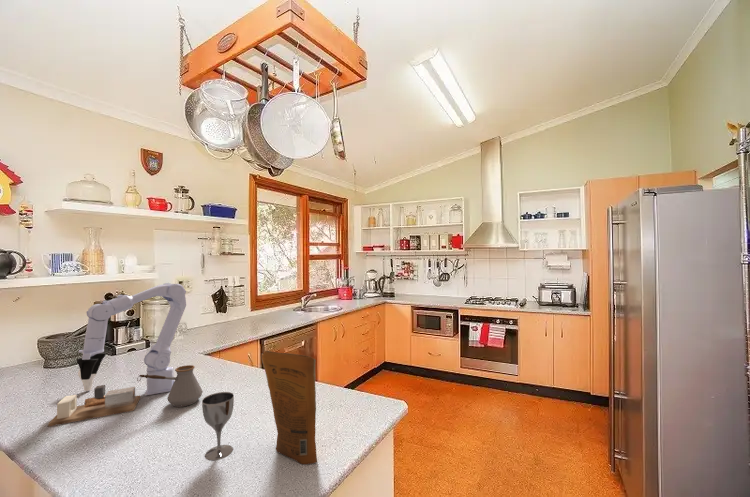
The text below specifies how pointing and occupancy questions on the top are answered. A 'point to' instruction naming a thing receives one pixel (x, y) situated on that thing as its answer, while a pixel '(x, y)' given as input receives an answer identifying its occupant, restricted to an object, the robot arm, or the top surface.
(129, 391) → the sleeve
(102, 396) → the brown piece
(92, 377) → the lightbulb
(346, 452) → the top surface
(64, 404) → the cream rectangular block
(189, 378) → the coffee pot
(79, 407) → the walnut board
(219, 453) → the wine glass
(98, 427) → the top surface
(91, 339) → the robot arm
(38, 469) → the top surface
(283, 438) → the pancake mix bag
